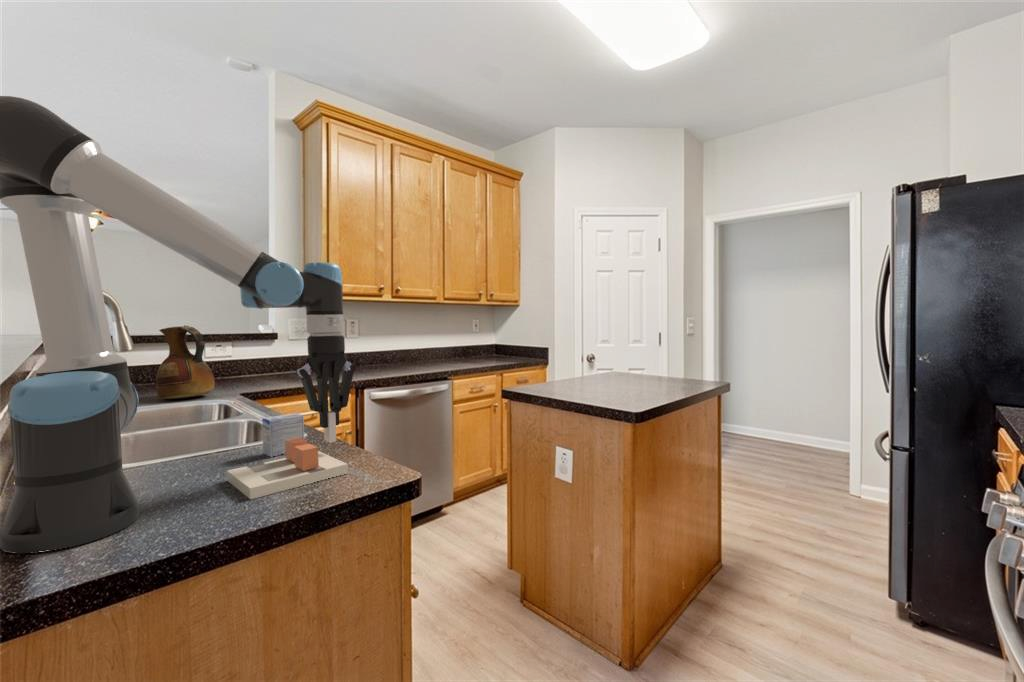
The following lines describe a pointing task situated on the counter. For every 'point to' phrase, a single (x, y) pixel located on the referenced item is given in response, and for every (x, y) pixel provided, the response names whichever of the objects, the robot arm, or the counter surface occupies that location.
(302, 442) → the far tab
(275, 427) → the medicine box
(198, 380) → the ceramic pitcher
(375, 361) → the counter surface
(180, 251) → the robot arm
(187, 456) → the counter surface
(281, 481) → the switch bank
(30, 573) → the counter surface
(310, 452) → the near tab
